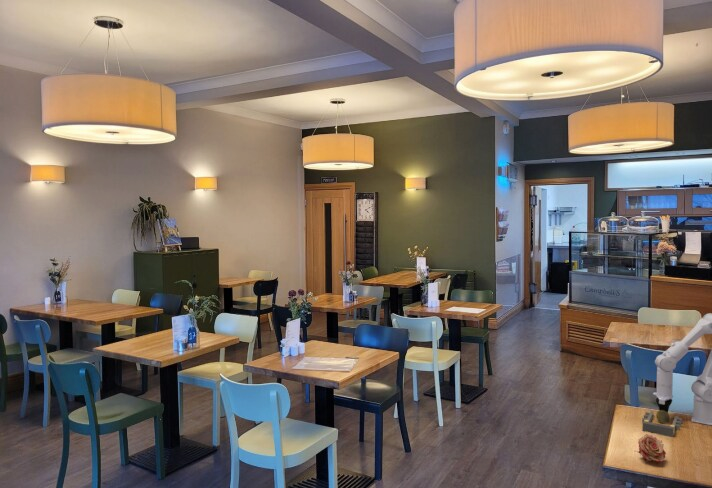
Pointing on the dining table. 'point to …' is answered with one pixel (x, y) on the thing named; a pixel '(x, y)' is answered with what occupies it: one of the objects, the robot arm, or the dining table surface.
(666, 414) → the lime
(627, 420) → the dining table surface
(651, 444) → the flower
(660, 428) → the grey u-shaped block
